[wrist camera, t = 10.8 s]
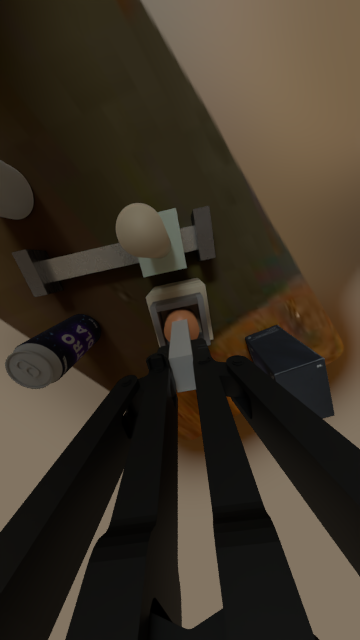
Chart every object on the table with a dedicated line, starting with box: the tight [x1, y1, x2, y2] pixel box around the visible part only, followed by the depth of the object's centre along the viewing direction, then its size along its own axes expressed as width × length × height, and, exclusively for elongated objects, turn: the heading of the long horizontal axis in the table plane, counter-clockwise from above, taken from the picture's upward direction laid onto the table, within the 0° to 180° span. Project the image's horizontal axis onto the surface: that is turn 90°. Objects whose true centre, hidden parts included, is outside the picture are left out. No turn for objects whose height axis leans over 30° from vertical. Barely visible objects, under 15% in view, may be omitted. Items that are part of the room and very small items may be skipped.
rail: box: [12, 206, 216, 297], centre depth 24 cm, size 6×26×4 cm, turn 102°
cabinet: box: [146, 278, 213, 347], centre depth 23 cm, size 7×7×10 cm
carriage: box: [116, 203, 187, 277], centre depth 18 cm, size 7×6×14 cm
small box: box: [245, 325, 334, 419], centre depth 27 cm, size 11×6×10 cm, turn 25°
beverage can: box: [5, 314, 101, 389], centre depth 24 cm, size 6×6×12 cm
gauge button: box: [164, 307, 199, 342], centre depth 18 cm, size 4×4×3 cm
